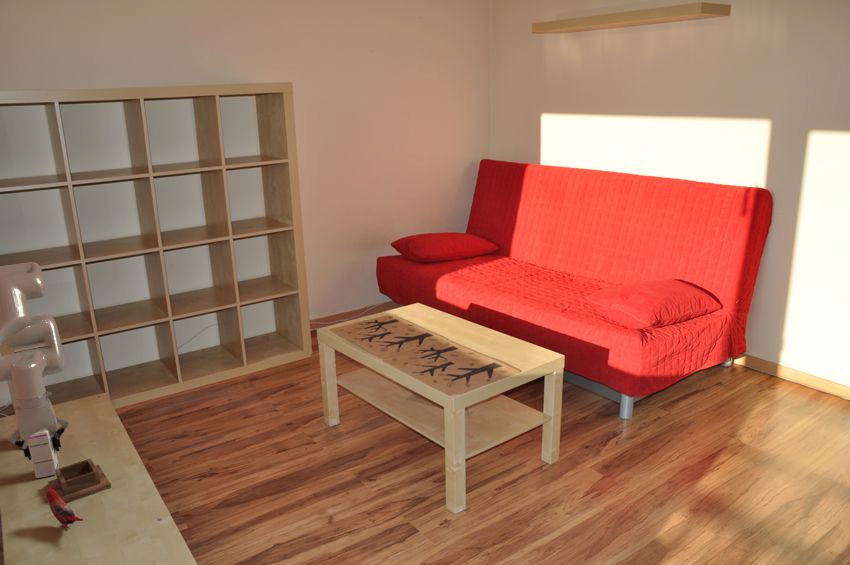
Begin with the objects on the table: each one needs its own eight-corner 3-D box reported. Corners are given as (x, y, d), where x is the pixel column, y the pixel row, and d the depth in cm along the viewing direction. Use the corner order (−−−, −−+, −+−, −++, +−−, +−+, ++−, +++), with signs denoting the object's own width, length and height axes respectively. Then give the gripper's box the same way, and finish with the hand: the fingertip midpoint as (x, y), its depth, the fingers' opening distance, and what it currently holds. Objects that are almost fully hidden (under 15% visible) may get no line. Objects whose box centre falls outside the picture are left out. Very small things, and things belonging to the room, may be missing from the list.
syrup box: (57, 474, 205) (48, 431, 201) (35, 478, 203) (25, 435, 199) (59, 465, 211) (50, 422, 206) (37, 469, 209) (28, 426, 204)
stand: (48, 485, 201) (45, 469, 199) (99, 468, 209) (96, 453, 207) (58, 506, 190) (54, 489, 189) (111, 487, 198) (108, 471, 197)
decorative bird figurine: (57, 516, 185) (50, 483, 183) (92, 538, 175) (86, 504, 173) (46, 521, 183) (39, 488, 180) (81, 544, 173) (74, 509, 171)
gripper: (62, 387, 208) (72, 439, 213) (-4, 404, 198) (8, 458, 203) (67, 396, 202) (77, 449, 207) (0, 414, 192) (12, 469, 197)
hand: (43, 453), depth 205 cm, fingers closed on syrup box, 6 cm apart
